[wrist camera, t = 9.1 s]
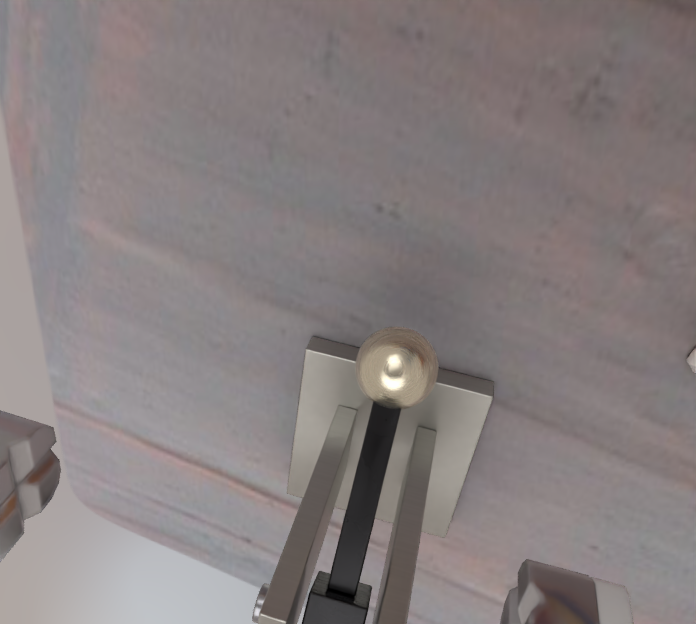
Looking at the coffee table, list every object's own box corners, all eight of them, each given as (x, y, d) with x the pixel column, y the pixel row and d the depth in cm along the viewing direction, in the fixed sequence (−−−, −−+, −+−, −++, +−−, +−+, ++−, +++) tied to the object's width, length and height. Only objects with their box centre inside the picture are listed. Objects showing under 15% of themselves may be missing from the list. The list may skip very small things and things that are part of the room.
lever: (369, 320, 27) (363, 315, 23) (445, 338, 26) (449, 336, 23) (291, 631, 26) (274, 669, 23) (368, 654, 26) (362, 697, 22)
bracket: (312, 335, 31) (205, 544, 21) (494, 381, 30) (482, 626, 20) (292, 478, 37) (199, 704, 26) (447, 521, 36) (417, 775, 25)
